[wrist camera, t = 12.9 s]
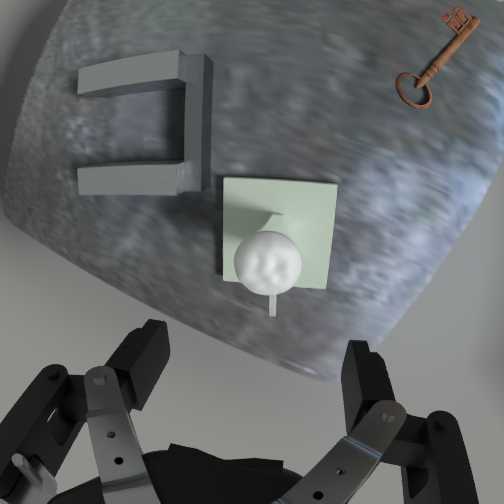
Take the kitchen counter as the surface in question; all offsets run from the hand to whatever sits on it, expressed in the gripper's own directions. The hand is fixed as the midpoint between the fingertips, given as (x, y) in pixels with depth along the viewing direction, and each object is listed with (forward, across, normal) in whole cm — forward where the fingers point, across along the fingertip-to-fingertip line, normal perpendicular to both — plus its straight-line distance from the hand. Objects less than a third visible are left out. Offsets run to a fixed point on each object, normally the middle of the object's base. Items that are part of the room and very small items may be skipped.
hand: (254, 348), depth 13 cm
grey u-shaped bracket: (+18, +13, -10) cm, 24 cm away
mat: (+18, 0, 0) cm, 18 cm away
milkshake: (+17, 0, 0) cm, 17 cm away
